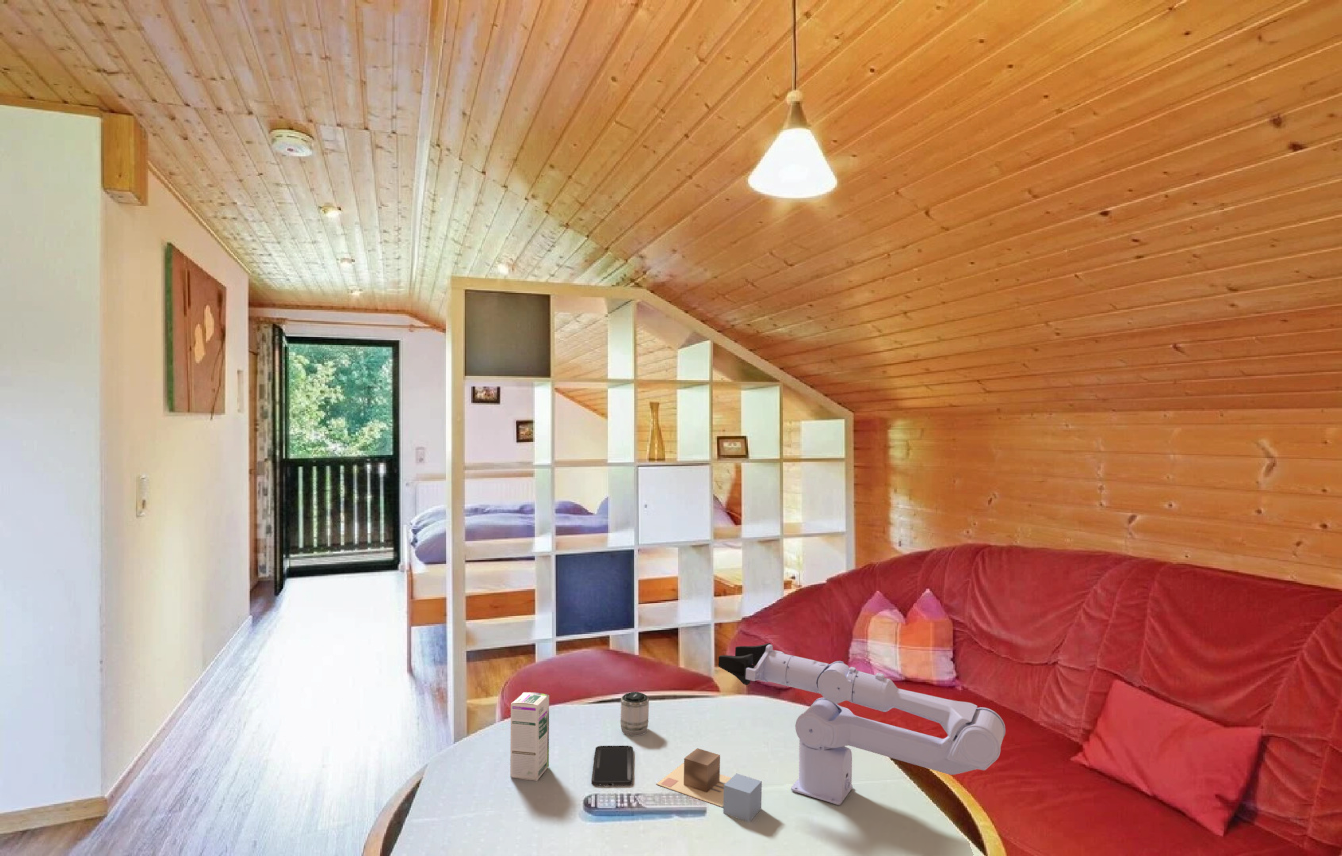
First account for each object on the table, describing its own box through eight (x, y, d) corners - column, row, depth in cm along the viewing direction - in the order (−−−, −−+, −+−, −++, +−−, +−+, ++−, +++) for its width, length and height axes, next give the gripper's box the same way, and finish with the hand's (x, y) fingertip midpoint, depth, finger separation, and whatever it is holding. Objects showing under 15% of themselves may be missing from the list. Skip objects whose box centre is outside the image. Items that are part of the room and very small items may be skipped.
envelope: (746, 783, 131) (746, 782, 131) (722, 807, 122) (722, 806, 122) (683, 763, 138) (683, 762, 138) (656, 784, 130) (656, 783, 130)
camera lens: (616, 734, 151) (616, 698, 151) (626, 722, 157) (626, 688, 157) (642, 738, 149) (643, 702, 149) (652, 726, 155) (652, 691, 155)
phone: (633, 745, 144) (632, 781, 129) (632, 750, 144) (632, 787, 129) (595, 745, 144) (590, 782, 129) (595, 751, 144) (590, 788, 129)
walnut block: (719, 781, 131) (720, 754, 131) (706, 792, 127) (707, 765, 127) (696, 773, 134) (697, 748, 134) (683, 784, 130) (684, 758, 130)
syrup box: (537, 781, 130) (539, 704, 130) (508, 777, 131) (510, 701, 131) (549, 767, 136) (550, 693, 136) (521, 763, 137) (522, 690, 137)
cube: (761, 809, 122) (761, 781, 122) (749, 822, 118) (749, 793, 118) (735, 800, 125) (736, 773, 125) (723, 813, 121) (723, 784, 121)
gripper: (805, 641, 139) (743, 628, 146) (777, 659, 127) (712, 644, 134) (803, 676, 139) (742, 662, 146) (776, 698, 126) (710, 681, 133)
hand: (727, 656), depth 140 cm, fingers open, 7 cm apart
